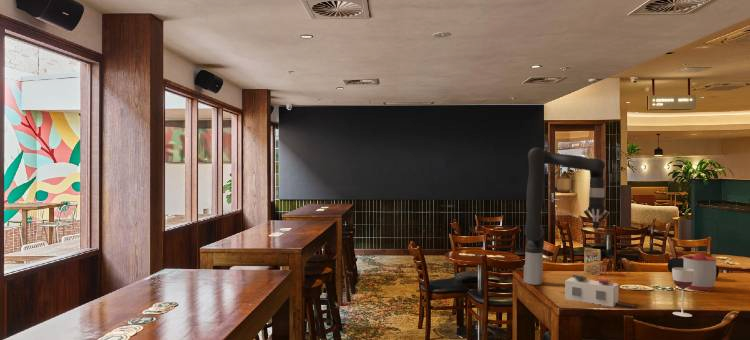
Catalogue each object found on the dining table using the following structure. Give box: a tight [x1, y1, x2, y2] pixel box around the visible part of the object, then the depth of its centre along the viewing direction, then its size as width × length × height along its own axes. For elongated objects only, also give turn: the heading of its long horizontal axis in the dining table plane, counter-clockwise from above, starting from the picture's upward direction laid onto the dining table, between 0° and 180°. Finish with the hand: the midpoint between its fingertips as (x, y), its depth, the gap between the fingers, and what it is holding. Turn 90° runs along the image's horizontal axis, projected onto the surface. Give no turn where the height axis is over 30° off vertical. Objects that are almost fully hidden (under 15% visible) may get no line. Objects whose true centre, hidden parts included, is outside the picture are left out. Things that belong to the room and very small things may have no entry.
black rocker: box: [572, 274, 588, 281], centre depth 255 cm, size 4×9×2 cm, turn 143°
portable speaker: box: [667, 257, 720, 280], centre depth 316 cm, size 26×10×10 cm, turn 35°
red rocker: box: [596, 277, 611, 284], centre depth 249 cm, size 4×9×2 cm, turn 143°
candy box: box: [583, 247, 602, 276], centre depth 319 cm, size 9×4×15 cm, turn 59°
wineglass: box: [671, 267, 694, 318], centre depth 231 cm, size 8×9×20 cm
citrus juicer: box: [682, 251, 718, 292], centre depth 283 cm, size 16×17×20 cm
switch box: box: [564, 276, 635, 309], centre depth 250 cm, size 30×10×9 cm, turn 53°
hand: (596, 228), depth 280 cm, fingers closed
